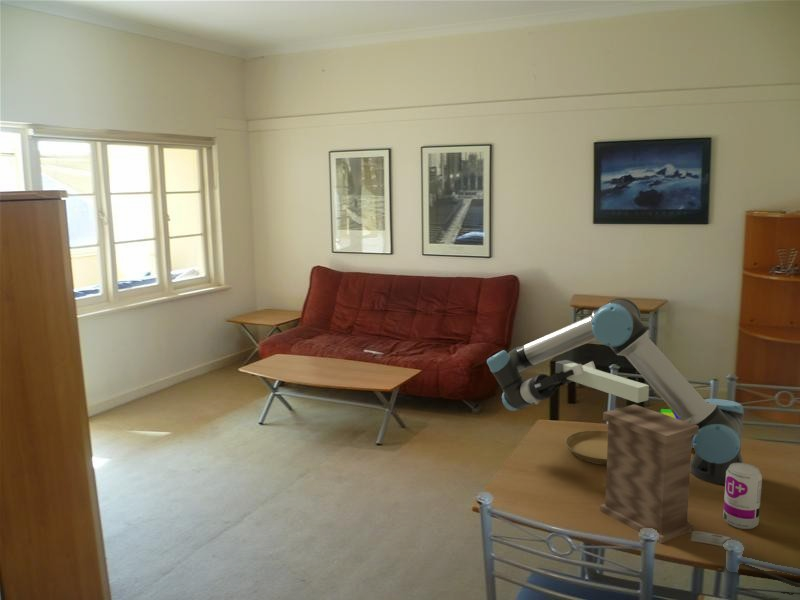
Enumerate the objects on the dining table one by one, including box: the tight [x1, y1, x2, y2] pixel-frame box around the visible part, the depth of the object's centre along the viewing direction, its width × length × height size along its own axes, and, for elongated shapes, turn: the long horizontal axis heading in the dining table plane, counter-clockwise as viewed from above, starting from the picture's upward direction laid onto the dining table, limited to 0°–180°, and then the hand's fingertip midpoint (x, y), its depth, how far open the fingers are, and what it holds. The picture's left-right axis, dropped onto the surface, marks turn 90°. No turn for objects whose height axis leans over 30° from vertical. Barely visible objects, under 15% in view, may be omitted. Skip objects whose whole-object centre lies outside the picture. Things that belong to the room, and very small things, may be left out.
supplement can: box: [722, 462, 763, 530], centre depth 173 cm, size 8×8×15 cm
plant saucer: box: [565, 429, 608, 466], centre depth 221 cm, size 24×24×3 cm
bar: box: [554, 359, 650, 404], centre depth 186 cm, size 30×4×4 cm, turn 31°
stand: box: [599, 404, 699, 544], centre depth 174 cm, size 20×12×28 cm, turn 30°
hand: (587, 367), depth 189 cm, fingers closed on bar, 4 cm apart
